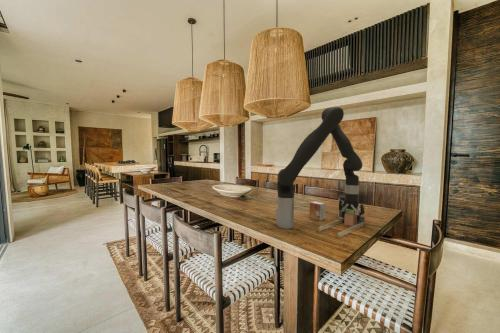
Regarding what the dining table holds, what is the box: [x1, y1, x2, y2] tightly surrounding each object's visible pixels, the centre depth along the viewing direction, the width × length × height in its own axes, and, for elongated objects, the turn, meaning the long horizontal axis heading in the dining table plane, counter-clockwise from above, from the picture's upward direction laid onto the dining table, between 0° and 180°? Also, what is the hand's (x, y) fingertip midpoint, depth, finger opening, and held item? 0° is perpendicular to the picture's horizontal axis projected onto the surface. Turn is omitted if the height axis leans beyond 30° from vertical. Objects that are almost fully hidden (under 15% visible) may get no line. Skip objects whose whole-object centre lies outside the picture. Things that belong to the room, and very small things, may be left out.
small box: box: [308, 200, 326, 221], centre depth 136 cm, size 8×6×10 cm
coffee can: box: [337, 194, 356, 219], centre depth 138 cm, size 10×10×14 cm
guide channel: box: [317, 213, 366, 239], centre depth 119 cm, size 12×30×5 cm, turn 129°
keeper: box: [344, 213, 357, 227], centre depth 125 cm, size 5×5×6 cm
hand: (350, 219), depth 125 cm, fingers open, 8 cm apart
